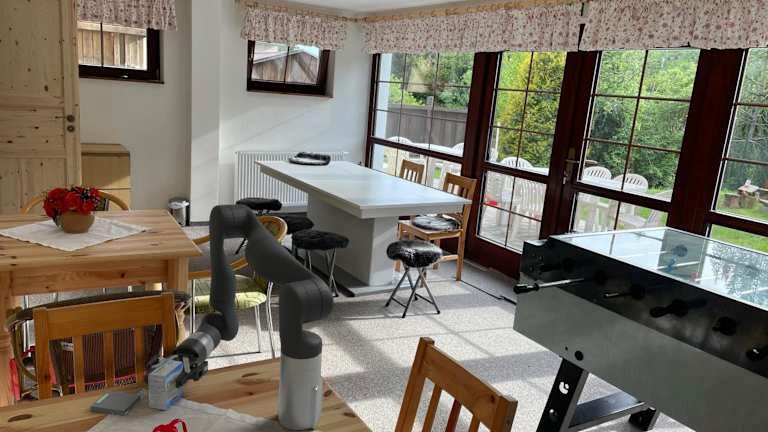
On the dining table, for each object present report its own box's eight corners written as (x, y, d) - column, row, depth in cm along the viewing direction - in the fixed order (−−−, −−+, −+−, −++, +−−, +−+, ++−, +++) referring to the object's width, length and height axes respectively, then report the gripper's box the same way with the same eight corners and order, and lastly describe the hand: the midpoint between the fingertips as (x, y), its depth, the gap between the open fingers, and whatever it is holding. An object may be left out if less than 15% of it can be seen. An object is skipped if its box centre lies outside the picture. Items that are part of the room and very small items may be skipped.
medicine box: (166, 411, 136) (165, 376, 134) (148, 408, 137) (147, 373, 135) (184, 394, 144) (184, 361, 142) (167, 391, 145) (166, 358, 143)
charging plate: (140, 399, 140) (140, 394, 140) (124, 415, 133) (123, 410, 133) (108, 395, 141) (108, 390, 141) (90, 410, 134) (90, 405, 134)
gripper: (167, 334, 153) (131, 363, 137) (220, 341, 151) (191, 371, 135) (167, 361, 155) (132, 393, 139) (220, 368, 153) (191, 401, 137)
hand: (161, 382), depth 137 cm, fingers open, 7 cm apart
